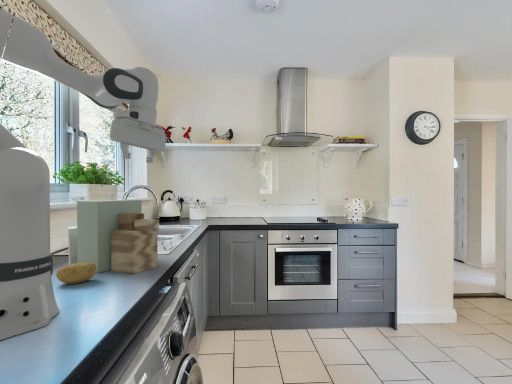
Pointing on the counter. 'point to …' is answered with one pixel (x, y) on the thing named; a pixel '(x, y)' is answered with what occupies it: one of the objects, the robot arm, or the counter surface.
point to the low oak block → (133, 251)
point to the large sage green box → (100, 229)
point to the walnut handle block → (136, 222)
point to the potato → (76, 272)
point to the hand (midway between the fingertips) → (138, 160)
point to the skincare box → (72, 244)
